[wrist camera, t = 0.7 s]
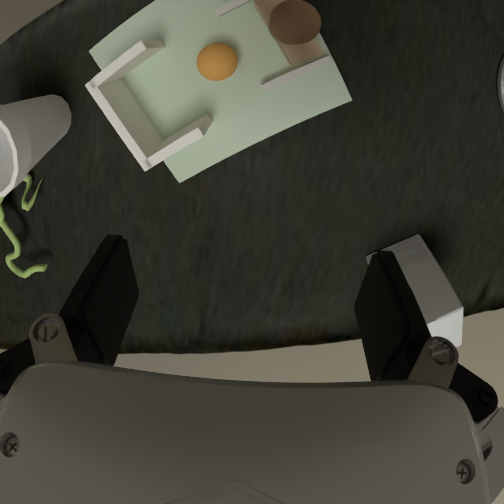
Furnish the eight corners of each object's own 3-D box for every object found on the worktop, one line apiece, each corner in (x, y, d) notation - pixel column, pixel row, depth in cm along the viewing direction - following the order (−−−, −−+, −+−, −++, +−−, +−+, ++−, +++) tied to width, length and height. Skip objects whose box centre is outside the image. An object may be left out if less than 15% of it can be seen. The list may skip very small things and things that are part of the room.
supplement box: (377, 293, 48) (402, 371, 36) (364, 254, 44) (393, 337, 32) (427, 273, 46) (462, 346, 34) (420, 231, 41) (465, 307, 29)
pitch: (263, -53, 20) (264, -74, 15) (349, 98, 31) (369, 112, 25) (92, 50, 27) (60, 56, 21) (181, 179, 37) (166, 207, 32)
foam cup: (48, 162, 35) (-10, 210, 25) (17, 110, 30) (-48, 146, 20) (93, 126, 33) (32, 169, 23) (60, 68, 28) (-11, 92, 18)
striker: (284, -6, 23) (294, -26, 15) (317, 51, 27) (340, 53, 19) (252, 8, 24) (248, -8, 16) (285, 64, 28) (295, 71, 20)
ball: (227, 36, 26) (222, 35, 23) (246, 67, 28) (244, 70, 25) (193, 55, 27) (184, 56, 24) (212, 85, 30) (206, 90, 26)
